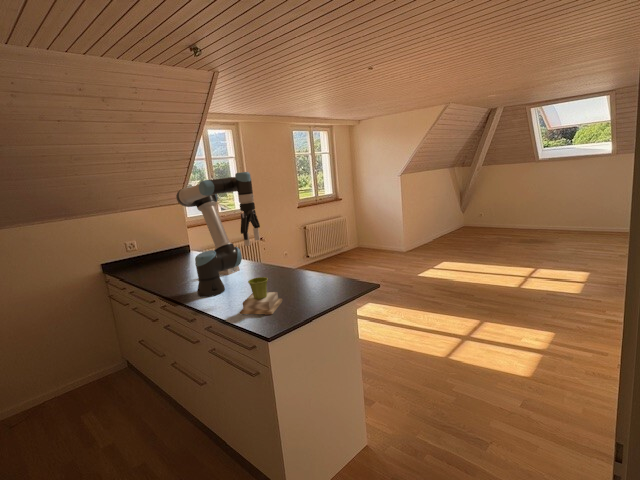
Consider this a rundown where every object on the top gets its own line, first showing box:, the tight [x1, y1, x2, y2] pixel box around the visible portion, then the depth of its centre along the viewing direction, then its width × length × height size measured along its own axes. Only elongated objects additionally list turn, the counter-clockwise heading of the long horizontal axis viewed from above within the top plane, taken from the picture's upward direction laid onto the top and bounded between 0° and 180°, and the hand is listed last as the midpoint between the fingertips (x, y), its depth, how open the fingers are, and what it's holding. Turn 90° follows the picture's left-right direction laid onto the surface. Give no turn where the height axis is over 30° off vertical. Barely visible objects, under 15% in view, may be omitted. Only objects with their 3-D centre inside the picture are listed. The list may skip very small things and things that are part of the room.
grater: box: [219, 265, 240, 276], centre depth 247 cm, size 10×10×20 cm
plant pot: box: [247, 276, 269, 299], centre depth 175 cm, size 9×9×9 cm
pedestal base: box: [239, 291, 283, 315], centre depth 176 cm, size 16×16×6 cm
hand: (252, 242), depth 191 cm, fingers open, 13 cm apart
